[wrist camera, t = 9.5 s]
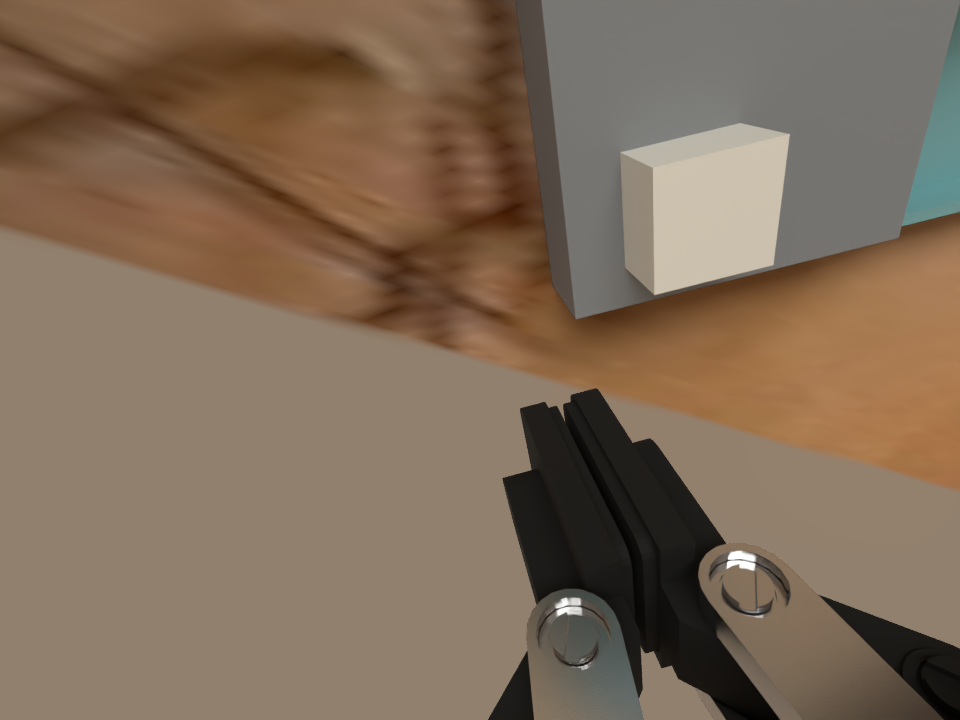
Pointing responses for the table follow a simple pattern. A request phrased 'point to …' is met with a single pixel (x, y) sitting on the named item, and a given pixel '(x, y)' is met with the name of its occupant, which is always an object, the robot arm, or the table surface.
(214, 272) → the table surface
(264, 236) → the table surface
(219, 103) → the table surface
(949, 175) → the box
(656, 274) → the beige block
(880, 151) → the plate
